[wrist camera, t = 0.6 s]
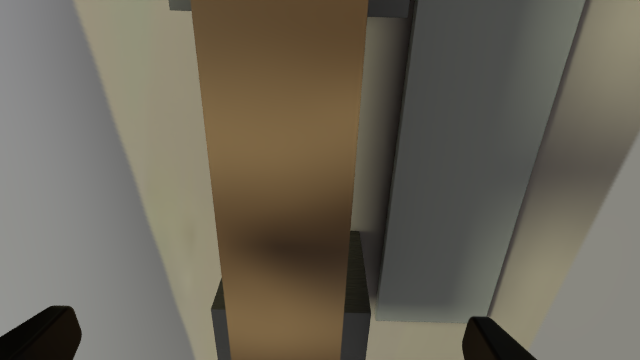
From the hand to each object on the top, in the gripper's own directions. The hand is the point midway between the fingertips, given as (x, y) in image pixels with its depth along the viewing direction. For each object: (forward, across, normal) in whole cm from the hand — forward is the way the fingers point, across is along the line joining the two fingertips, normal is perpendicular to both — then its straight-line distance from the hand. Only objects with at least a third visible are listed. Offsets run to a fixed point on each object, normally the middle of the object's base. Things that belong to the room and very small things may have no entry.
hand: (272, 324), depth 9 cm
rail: (+7, 0, 0) cm, 7 cm away
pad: (+12, -8, 0) cm, 15 cm away
